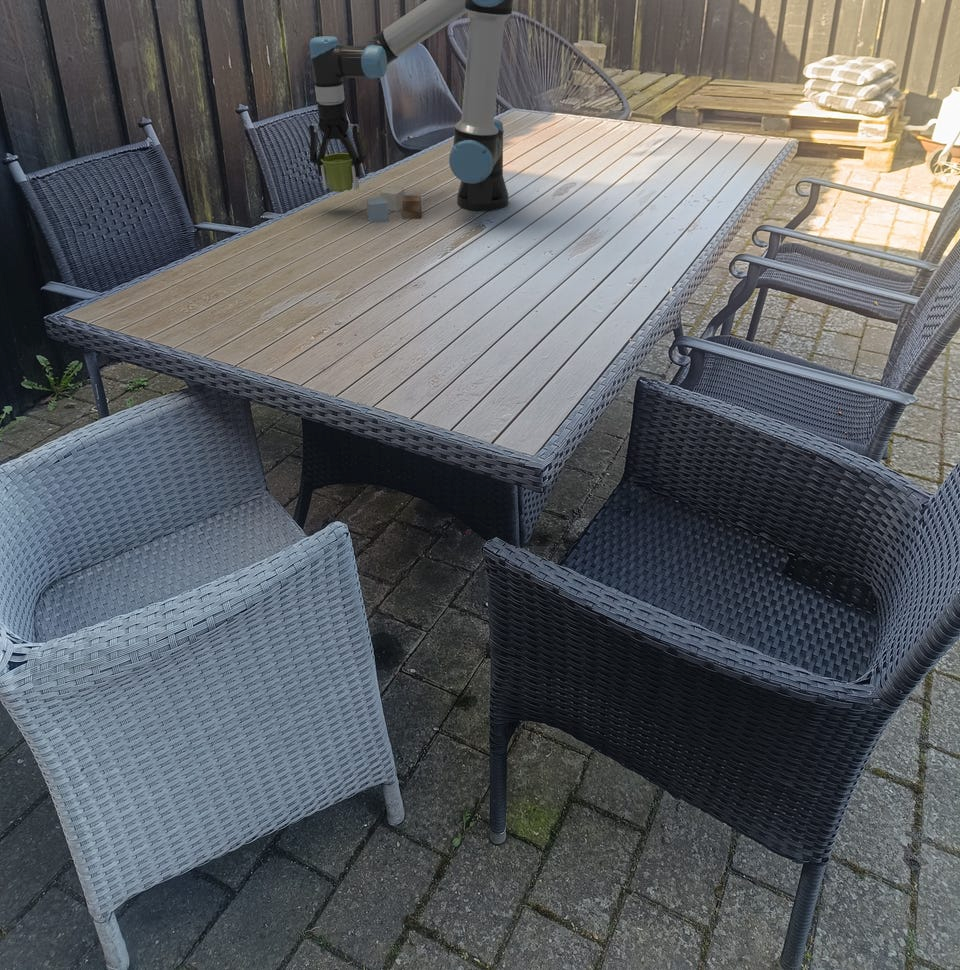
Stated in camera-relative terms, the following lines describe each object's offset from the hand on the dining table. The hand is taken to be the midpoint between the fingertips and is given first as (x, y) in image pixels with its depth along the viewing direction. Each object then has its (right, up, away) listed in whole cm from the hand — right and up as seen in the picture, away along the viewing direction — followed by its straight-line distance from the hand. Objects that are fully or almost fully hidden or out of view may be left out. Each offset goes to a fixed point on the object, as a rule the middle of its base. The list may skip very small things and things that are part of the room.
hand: (341, 188), depth 239 cm
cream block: (+14, -4, +6) cm, 16 cm away
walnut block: (+20, -8, 0) cm, 22 cm away
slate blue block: (+11, -9, -2) cm, 14 cm away
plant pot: (0, 0, 0) cm, 0 cm away
